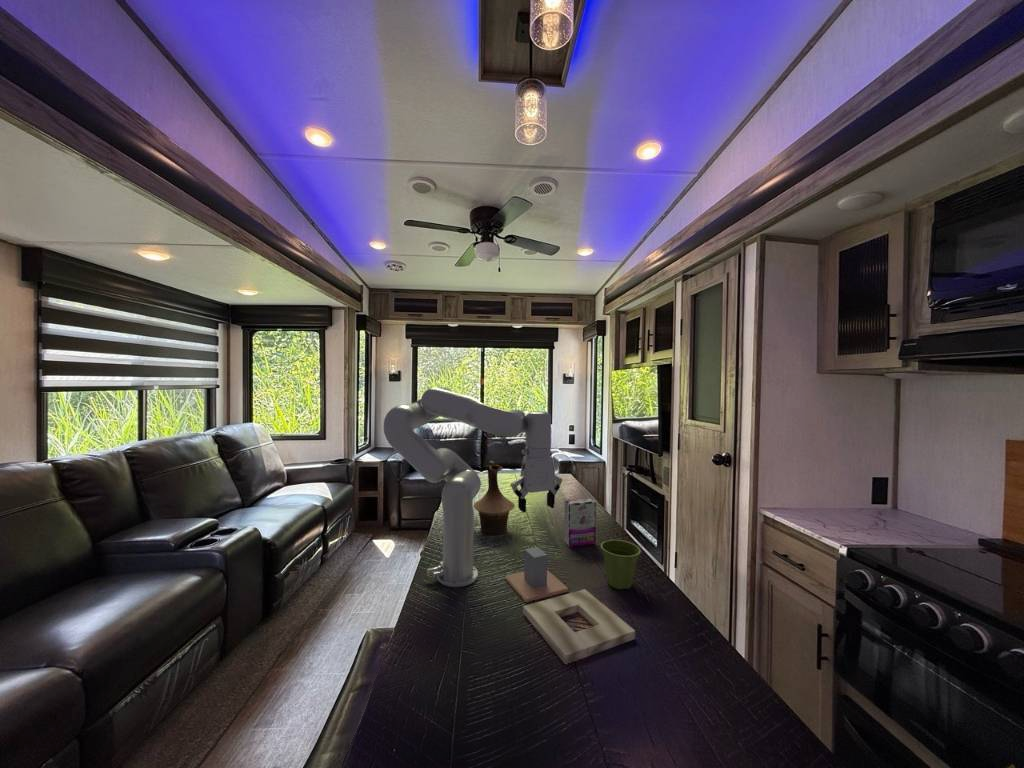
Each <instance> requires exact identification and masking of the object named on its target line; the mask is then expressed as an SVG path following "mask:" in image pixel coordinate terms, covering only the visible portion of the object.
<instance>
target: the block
mask: <svg viewBox="0 0 1024 768" xmlns="http://www.w3.org/2000/svg"><path fill="white" fill-rule="evenodd" d="M523 567H524V579H525V580H526V581H527V582H528V583H529V584H530V585H531V586H532V587H533V588H537V587H541V586H544V585H547V570H548V554H547V553H546V552H544V551H543V550H542V549H541V548H539V547H538V546H535V547H530V548H525V549H524V566H523Z"/></svg>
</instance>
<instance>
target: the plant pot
mask: <svg viewBox="0 0 1024 768" xmlns="http://www.w3.org/2000/svg"><path fill="white" fill-rule="evenodd" d="M600 548H601V549H602V554H603V557H604V558H603V559H604V566H605V573H606V574H605V575H606V582H607V584H609V586H610V587H612V588H614V589H617V590H624V589H625V590H629V589H630V588H632V585H633V581H634V575H635V571H636V565H637V562H638V560H639V556H640V555H641V552H642V550H641V548H640V547H639V546H638V545H636V544H635V543H632V542H629V541H626V540H622V539H609V540H608V539H607V540H605V541H602V543H601V544H600Z"/></svg>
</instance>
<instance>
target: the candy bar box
mask: <svg viewBox="0 0 1024 768" xmlns="http://www.w3.org/2000/svg"><path fill="white" fill-rule="evenodd" d="M596 509H597V502H596V501H595V500H594V499H592V498H591V497H589V498H576V499H566V500H564V543H565V545H566V546H567V547H568V548H575V547H583V546H584V547H585V546H591V545H592V544H593V545H596V543H597V542H596V539H597V538H596V534H597V532H596V530H597V529H596V527H597V526H596V519H597V516H596V514H597V513H596Z"/></svg>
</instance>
